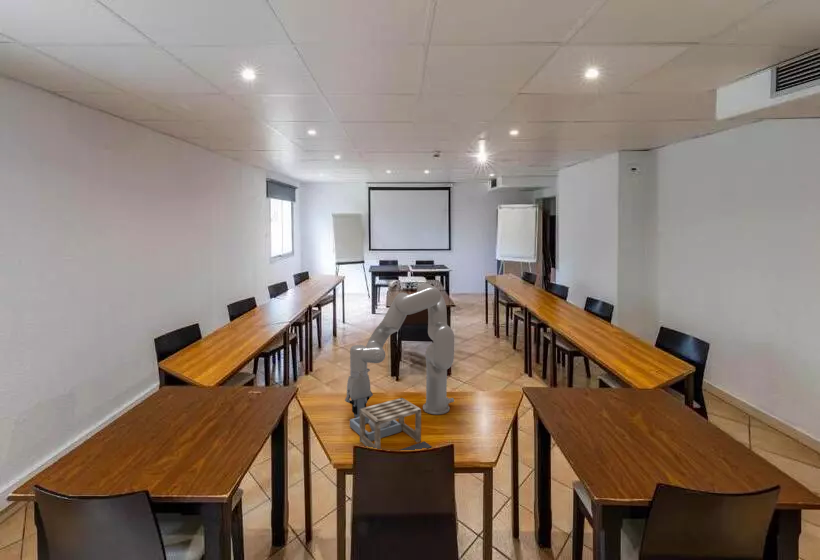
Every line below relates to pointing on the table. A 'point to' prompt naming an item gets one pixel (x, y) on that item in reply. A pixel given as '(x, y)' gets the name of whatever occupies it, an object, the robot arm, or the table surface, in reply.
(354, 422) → the tray with upright post
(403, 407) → the tunnel
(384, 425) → the die
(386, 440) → the table surface
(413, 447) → the pit mat
